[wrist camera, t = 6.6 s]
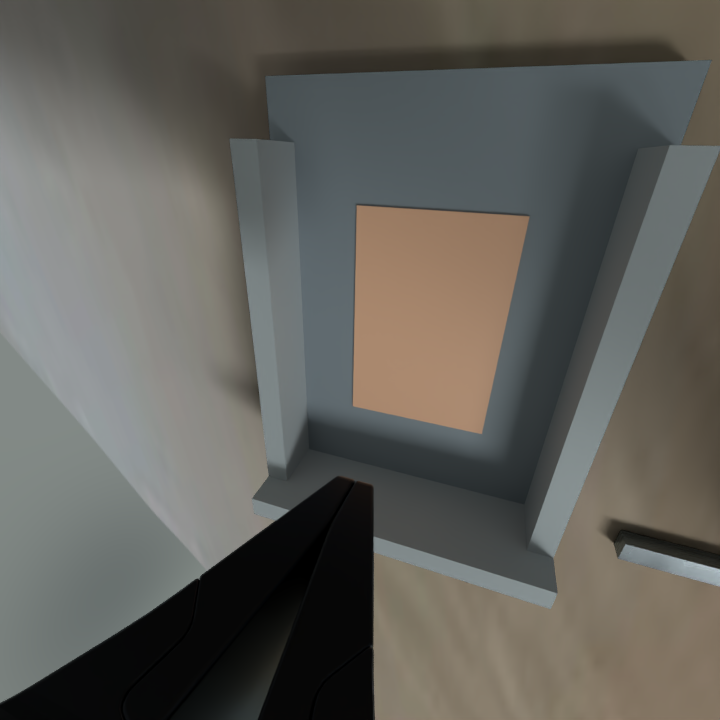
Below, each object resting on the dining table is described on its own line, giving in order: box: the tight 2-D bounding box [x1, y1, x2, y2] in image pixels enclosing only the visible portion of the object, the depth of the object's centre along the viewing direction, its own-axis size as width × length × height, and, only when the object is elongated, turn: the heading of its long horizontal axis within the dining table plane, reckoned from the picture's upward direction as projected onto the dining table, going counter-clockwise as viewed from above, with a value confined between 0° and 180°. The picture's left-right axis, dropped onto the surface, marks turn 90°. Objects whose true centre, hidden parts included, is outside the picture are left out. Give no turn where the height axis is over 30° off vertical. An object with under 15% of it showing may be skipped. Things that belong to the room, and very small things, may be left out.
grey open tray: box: [230, 60, 720, 609], centre depth 14 cm, size 13×18×5 cm
